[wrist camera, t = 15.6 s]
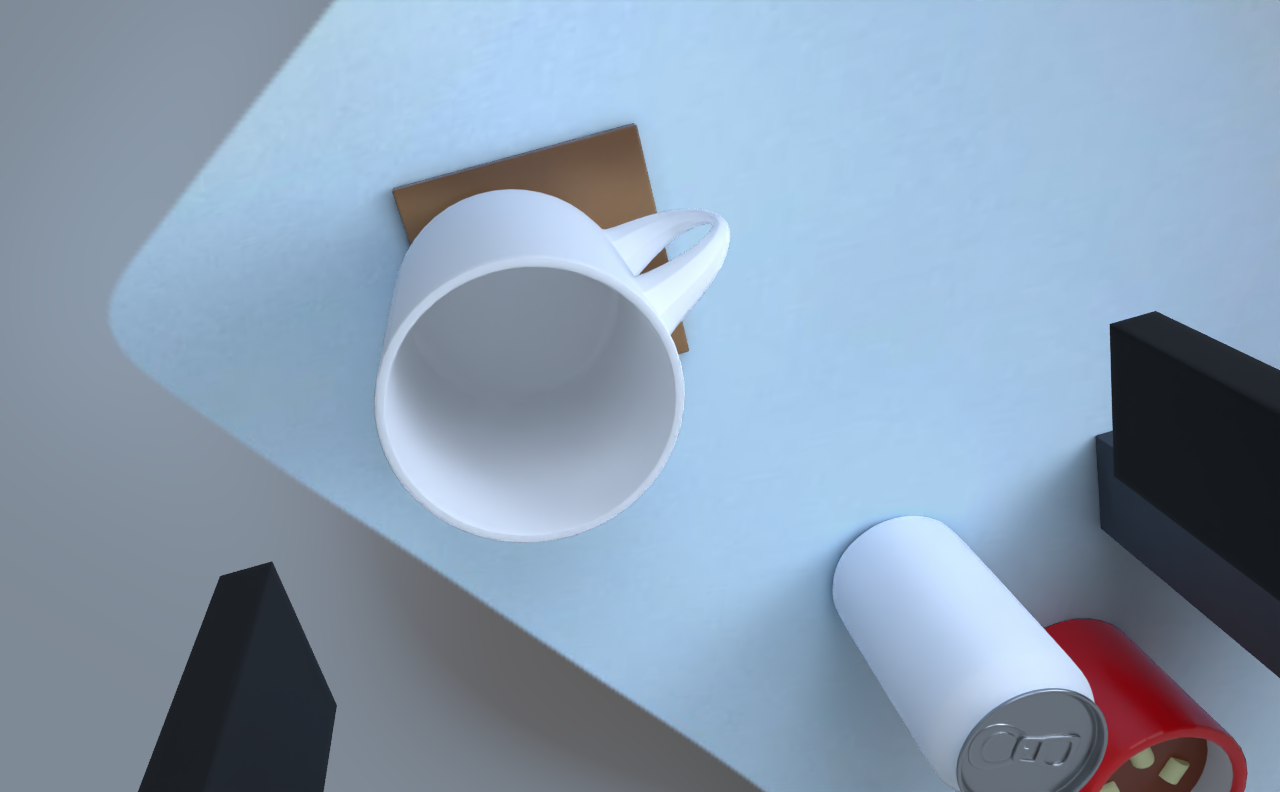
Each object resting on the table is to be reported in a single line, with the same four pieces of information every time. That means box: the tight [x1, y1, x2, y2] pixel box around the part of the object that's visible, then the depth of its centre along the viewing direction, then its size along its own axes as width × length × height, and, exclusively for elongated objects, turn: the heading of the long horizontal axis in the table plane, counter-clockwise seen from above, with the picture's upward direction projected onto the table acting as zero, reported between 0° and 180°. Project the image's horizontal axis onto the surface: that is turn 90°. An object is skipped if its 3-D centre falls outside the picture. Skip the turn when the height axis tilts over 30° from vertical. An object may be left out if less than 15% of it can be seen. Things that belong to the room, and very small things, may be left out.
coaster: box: [393, 123, 689, 354], centre depth 38 cm, size 9×9×1 cm
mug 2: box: [1044, 619, 1247, 792], centre depth 47 cm, size 8×12×8 cm, turn 58°
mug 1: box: [374, 189, 731, 543], centre depth 33 cm, size 9×12×11 cm
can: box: [833, 516, 1108, 792], centre depth 41 cm, size 6×6×12 cm
